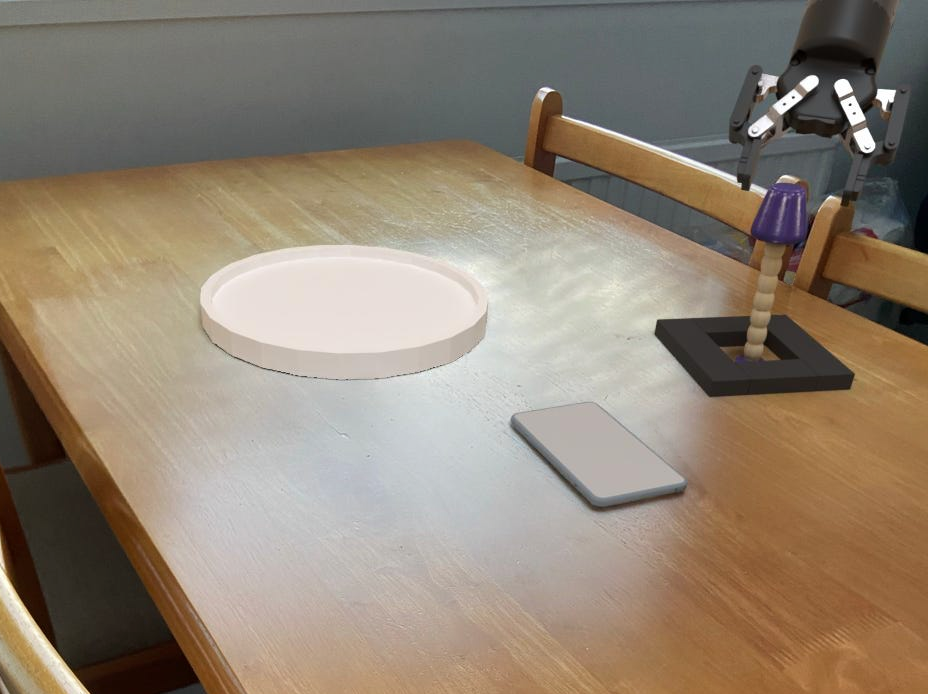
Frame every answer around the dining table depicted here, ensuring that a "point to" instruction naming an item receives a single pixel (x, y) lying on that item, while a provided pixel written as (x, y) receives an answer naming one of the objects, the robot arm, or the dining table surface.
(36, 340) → the dining table surface
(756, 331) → the toy lamp
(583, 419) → the smartphone
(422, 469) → the dining table surface
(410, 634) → the dining table surface
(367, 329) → the plate
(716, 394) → the square frame
